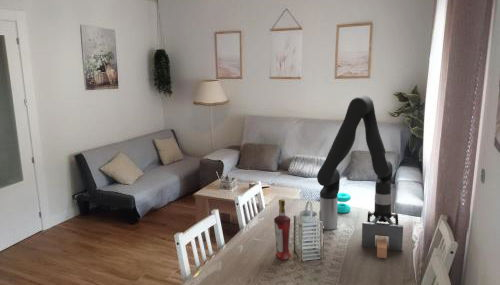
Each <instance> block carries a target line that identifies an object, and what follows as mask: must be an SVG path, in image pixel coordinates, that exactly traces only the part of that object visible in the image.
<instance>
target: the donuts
mask: <svg viewBox="0 0 500 285" xmlns="http://www.w3.org/2000/svg"><path fill="white" fill-rule="evenodd" d="M351 198H352V197H351V195H350V194H349V193H348V192H347V193H346V192H338V196H337V213H340V214H345V213H349V212H350V211H351V206H350V205H349V204H347V203H346V202H349V201H351Z"/></svg>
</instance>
